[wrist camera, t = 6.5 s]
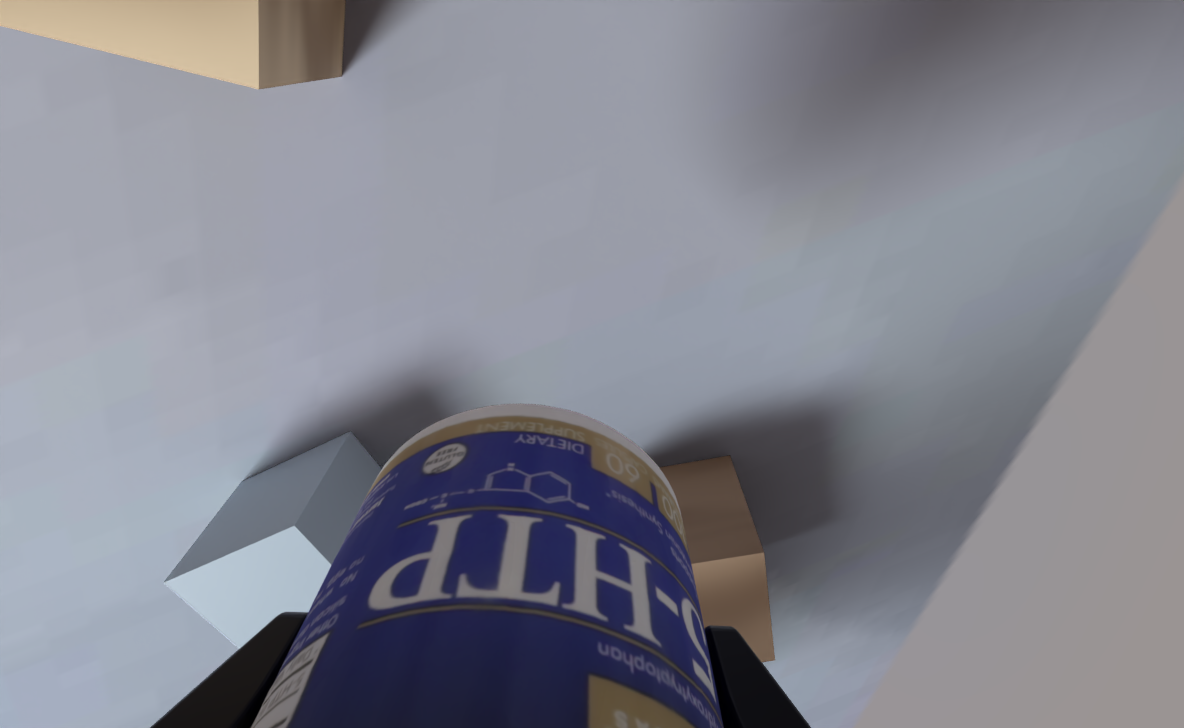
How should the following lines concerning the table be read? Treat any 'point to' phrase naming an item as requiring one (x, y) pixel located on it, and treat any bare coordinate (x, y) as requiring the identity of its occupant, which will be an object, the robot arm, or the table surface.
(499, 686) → the pill bottle
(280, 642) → the robot arm
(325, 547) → the slate block
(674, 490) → the walnut block
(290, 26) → the oak block
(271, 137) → the table surface
